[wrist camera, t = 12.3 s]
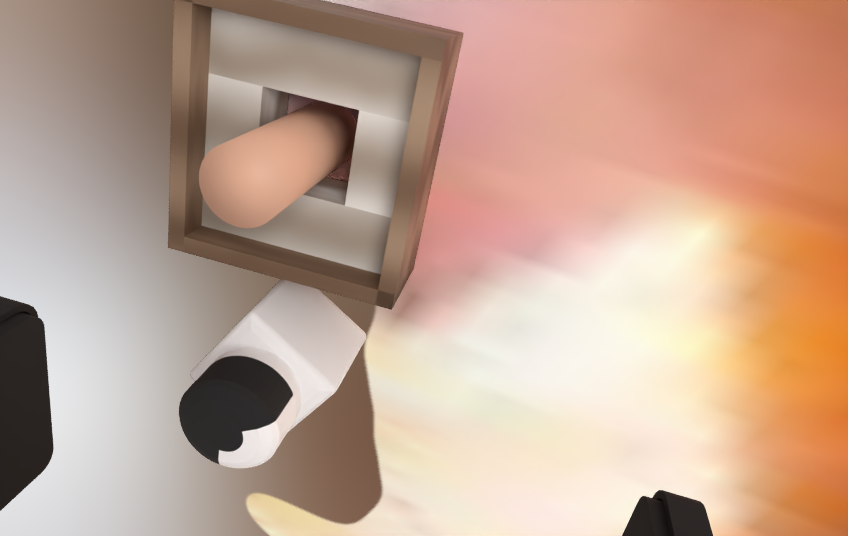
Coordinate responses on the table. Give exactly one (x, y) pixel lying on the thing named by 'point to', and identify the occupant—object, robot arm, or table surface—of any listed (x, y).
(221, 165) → the peg
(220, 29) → the bore box
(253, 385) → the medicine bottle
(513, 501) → the table surface
